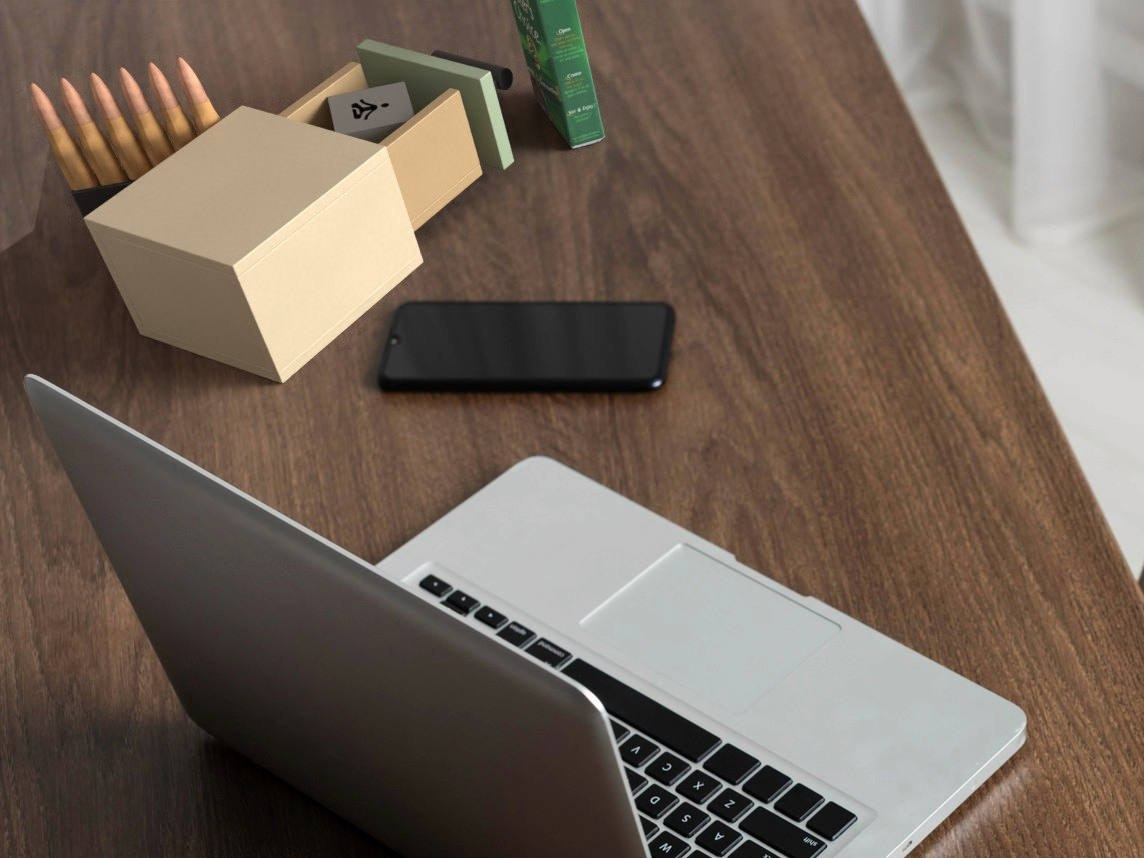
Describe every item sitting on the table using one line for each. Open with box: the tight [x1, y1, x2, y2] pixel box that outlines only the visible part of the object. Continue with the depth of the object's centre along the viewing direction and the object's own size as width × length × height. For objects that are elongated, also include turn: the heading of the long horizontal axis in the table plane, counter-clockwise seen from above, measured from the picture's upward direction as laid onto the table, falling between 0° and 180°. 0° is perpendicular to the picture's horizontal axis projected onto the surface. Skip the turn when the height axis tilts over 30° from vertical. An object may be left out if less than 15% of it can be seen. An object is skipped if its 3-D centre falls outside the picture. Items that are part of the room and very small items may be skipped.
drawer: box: [277, 38, 515, 233], centre depth 115 cm, size 17×10×7 cm, turn 154°
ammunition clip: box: [29, 56, 222, 261], centre depth 110 cm, size 11×2×12 cm, turn 104°
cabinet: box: [82, 104, 424, 384], centre depth 107 cm, size 14×12×9 cm
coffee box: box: [509, 0, 606, 149], centre depth 119 cm, size 8×3×13 cm, turn 29°
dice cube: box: [328, 82, 415, 144], centre depth 114 cm, size 5×5×5 cm
